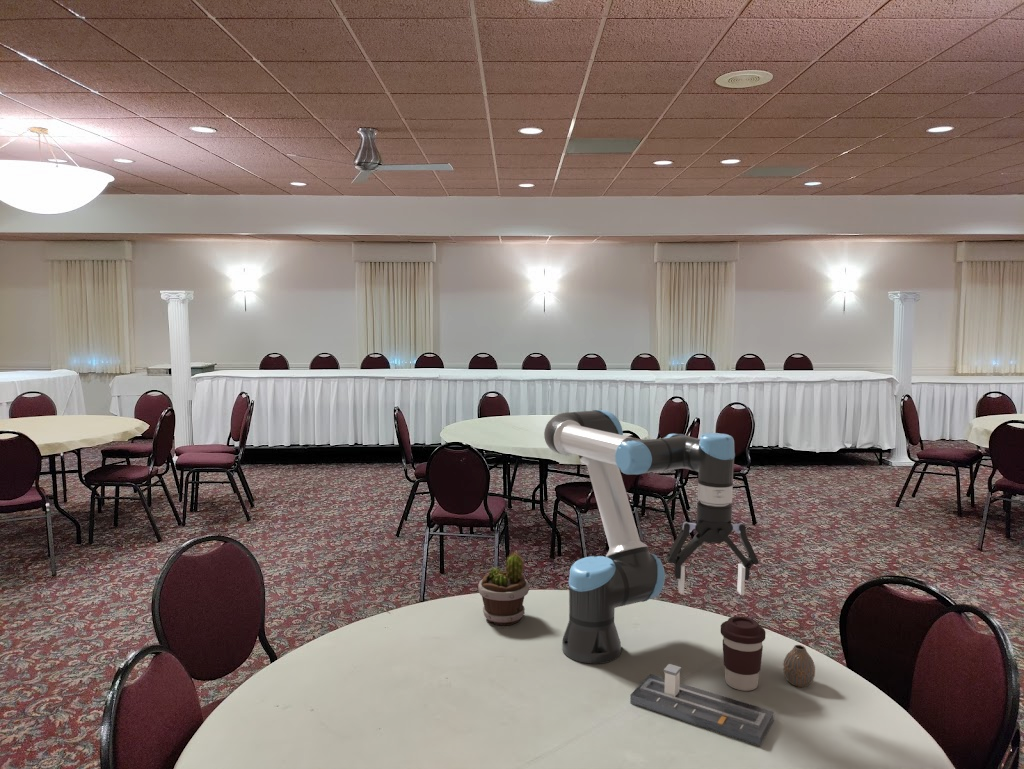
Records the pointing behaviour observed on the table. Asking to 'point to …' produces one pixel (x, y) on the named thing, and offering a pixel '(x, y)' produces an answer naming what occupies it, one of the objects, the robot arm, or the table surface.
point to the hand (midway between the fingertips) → (710, 592)
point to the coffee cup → (742, 652)
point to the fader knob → (672, 680)
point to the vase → (799, 667)
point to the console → (705, 710)
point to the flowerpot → (504, 592)
